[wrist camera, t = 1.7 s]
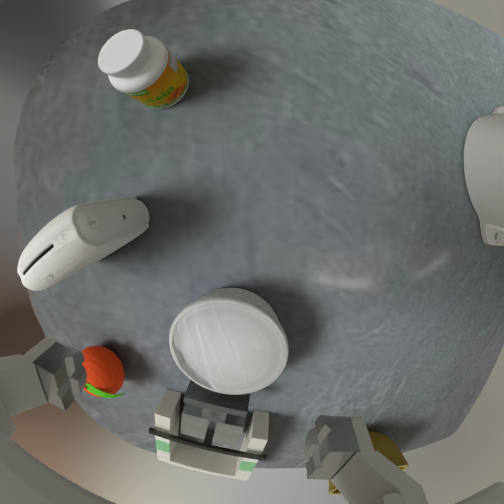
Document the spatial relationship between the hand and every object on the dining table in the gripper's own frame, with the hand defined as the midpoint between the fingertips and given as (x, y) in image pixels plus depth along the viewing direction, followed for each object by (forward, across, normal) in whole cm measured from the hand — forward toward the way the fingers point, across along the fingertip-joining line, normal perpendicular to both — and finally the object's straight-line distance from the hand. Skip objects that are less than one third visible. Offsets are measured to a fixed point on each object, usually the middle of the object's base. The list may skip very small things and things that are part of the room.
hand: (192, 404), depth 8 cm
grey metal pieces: (+19, -1, +21) cm, 29 cm away
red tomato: (+20, +14, +19) cm, 31 cm away
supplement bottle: (+20, +12, -15) cm, 28 cm away
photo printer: (+20, +14, +1) cm, 25 cm away
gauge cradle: (+20, -1, +27) cm, 34 cm away
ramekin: (+20, 0, +8) cm, 22 cm away
